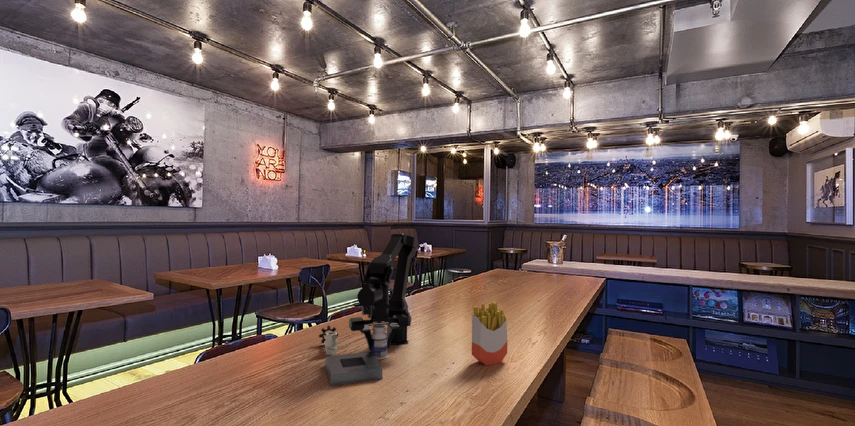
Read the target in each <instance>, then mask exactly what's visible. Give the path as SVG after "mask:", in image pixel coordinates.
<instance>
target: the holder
mask: <svg viewBox="0 0 855 426" xmlns="http://www.w3.org/2000/svg"><path fill="white" fill-rule="evenodd" d="M324 359H325V360H324V361H325V362H324V366H325V367H324V368H325V371H326V375H327V378H328V382H329V385H330V386H331V387H332V386H340V385H347V384H355V383H362V382H369V381H378V380H383V367H382V365H381V363H380V362H379V360H377V359H376V357H375V356H374V354H373V353H372V352H370V351H365V352H357V353H356V352H354V353H346V354H345V353H344V354H334V355H326V356H325V358H324Z"/></svg>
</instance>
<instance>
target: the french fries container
mask: <svg viewBox="0 0 855 426" xmlns="http://www.w3.org/2000/svg"><path fill="white" fill-rule="evenodd" d="M472 310H473V311H472V312H473V314H471V315H472V316H471V318H472V319H471V325H472V326H471V355H472V356H473V358H474V359H476V360H477V361H478V362H480V363H481V364H483V365H485V366H491V365H495V364H500V363H502V361H503V360H504V359H505V357H506V356H507V354H508V327H507V318H506V316H505V313H504V310H503V309H500V308H498V302H496V301H493V302H490V303H489V302H488V307H486V305H485V303H481V307H478V306H477V305H475V306H472Z"/></svg>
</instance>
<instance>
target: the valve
mask: <svg viewBox="0 0 855 426" xmlns="http://www.w3.org/2000/svg"><path fill="white" fill-rule="evenodd" d="M328 331H329V332H328ZM338 336H339V332H337V328H336V327H335V326H334V327H332V328H331V326H330V325H329V324H328V325H327V326H326V329H325V328H324V327H323V328H321V333H318V338H320V339H321V338H322V339H321V341H320V342H321V344H324V348H325V355H326V356H335V355H338V354H337V351H338V349H337V348H338V344H339V342H338Z"/></svg>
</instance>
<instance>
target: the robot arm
mask: <svg viewBox="0 0 855 426" xmlns="http://www.w3.org/2000/svg"><path fill="white" fill-rule="evenodd" d="M418 248H419V240H418V238H416V236H415V235H413V236H412V235H407V234H405V233H398V232H396V233H395V232H394V233H392V234H391V236H390V239H389V241H388V242H387V243H386V246H385V248H384V249H383V251H382V252H381V253H380V255H377V256H375V257H374V258H373V259H372V260H371V261H370V262H369V264H368V265H367V268H366V271H365V274H364V277H363V280H362V284H363V287H362V288H360V290H359V291H358V292H357V297H356V298H357V301H358V304H359V305H360V306H361V314H362V316H367V318H368V319H363V317H361V316H359V317H350V318H349V320H348V327H349V329H350V331H351V332H360V333H361V334H363V335H364V337H365V340H366V344H367V347H368V349H369V351H370V350H371V334H372V330H371V329H370V327H373V326H375V325H384V326H387V327H386V333H387V350H388V349H389V348H390V346H392V345H401V344H409V340H408V327H410V326H411V324H412V316H411V314H410V312H409V305H408V303H407V300H406V294H407V293H406V291H407V285H408V280H409V272H410V266H411V260H412V259H413V258H414V256H415V255H416V253H417V249H418ZM396 259H397V261H396ZM395 261H396V268H395V269H394V265H393V264H394V262H395ZM394 271H395V275H394V281H393V288H392V293H391V294H392V295H391V296H390V284H391V279H392V277H393V274H394ZM389 296H390V297H389Z"/></svg>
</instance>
